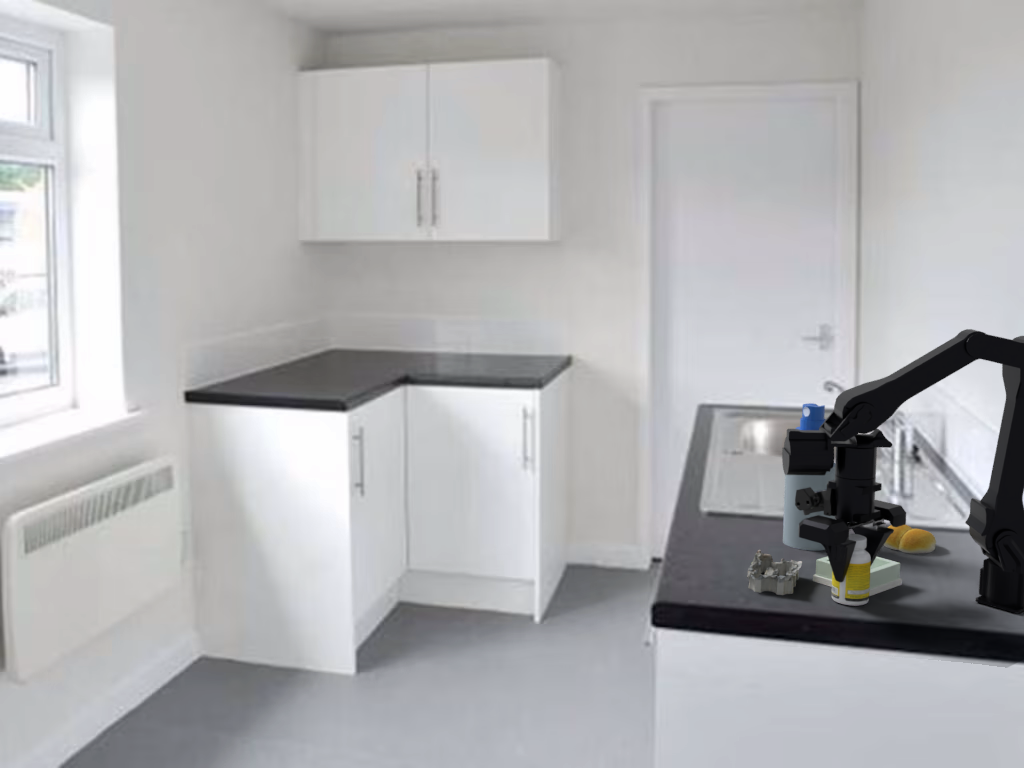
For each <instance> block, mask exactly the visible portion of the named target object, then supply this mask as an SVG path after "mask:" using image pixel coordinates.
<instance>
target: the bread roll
mask: <svg viewBox="0 0 1024 768" xmlns="http://www.w3.org/2000/svg"><path fill="white" fill-rule="evenodd" d="M887 528H891V529H893V530H894V532H893V533H892V534H890V536H889V537H888V539H887V540H886V542H885V543H884V545H883V547H884V548H885V547H886V548H887V549H890V550H894V551H900V552H902V553H905V554H906V553H907V554H915V555H916V554H917V555H918V554H929V553H932V552H934V551H935V549H936V545H937V540H936V536H935V535H933V533H932V532H930V531H927V530H925V529H921V528H912V527H911V526H909V525H908V524H905V525H902V526H899V527H893V526H892V525H891V524H890V525H889V526H887Z"/></svg>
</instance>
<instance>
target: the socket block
mask: <svg viewBox="0 0 1024 768" xmlns="http://www.w3.org/2000/svg"><path fill="white" fill-rule="evenodd" d="M900 575H901V563H900V562H897V561H894V560H891V559H887V558H884V557H880V556H878V555H877V556H876V558H875V560H874V562H873V563H872V565H871V568H870V592H869V597H871V596H874V595H876V594H880V593H882V592H886V591H888V590H891V589H893V588H897V587H899V586H902V584H903V583H902V582H903V578H902V577H901V576H900ZM900 577H901V578H900ZM812 581H813V582H815V583H818V584H821V585H825V586H828V587H830V588H832V568H831V565H830V561H829V558H828V555H827V556H824V557H821V558H818V559H816V560H815V574H813V575H812Z"/></svg>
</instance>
